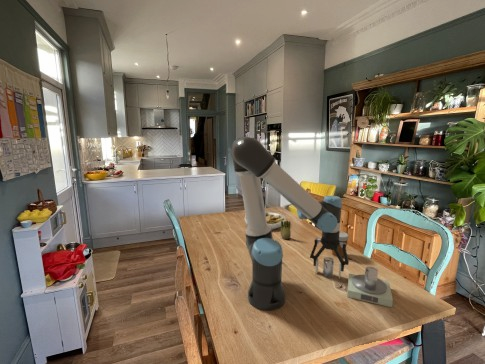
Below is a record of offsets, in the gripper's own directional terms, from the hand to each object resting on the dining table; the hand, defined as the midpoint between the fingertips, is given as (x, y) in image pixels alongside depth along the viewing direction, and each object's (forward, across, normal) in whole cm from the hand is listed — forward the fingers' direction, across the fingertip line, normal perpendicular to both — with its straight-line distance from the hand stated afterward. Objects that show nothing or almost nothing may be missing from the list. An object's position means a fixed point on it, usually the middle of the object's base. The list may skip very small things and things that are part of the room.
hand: (327, 274), depth 121 cm
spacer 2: (-4, -17, +10) cm, 20 cm away
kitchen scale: (0, -17, +7) cm, 18 cm away
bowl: (+1, +50, -55) cm, 74 cm away
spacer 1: (0, 0, 0) cm, 0 cm away
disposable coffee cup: (0, -3, -24) cm, 24 cm away
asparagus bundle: (0, +29, -34) cm, 45 cm away
